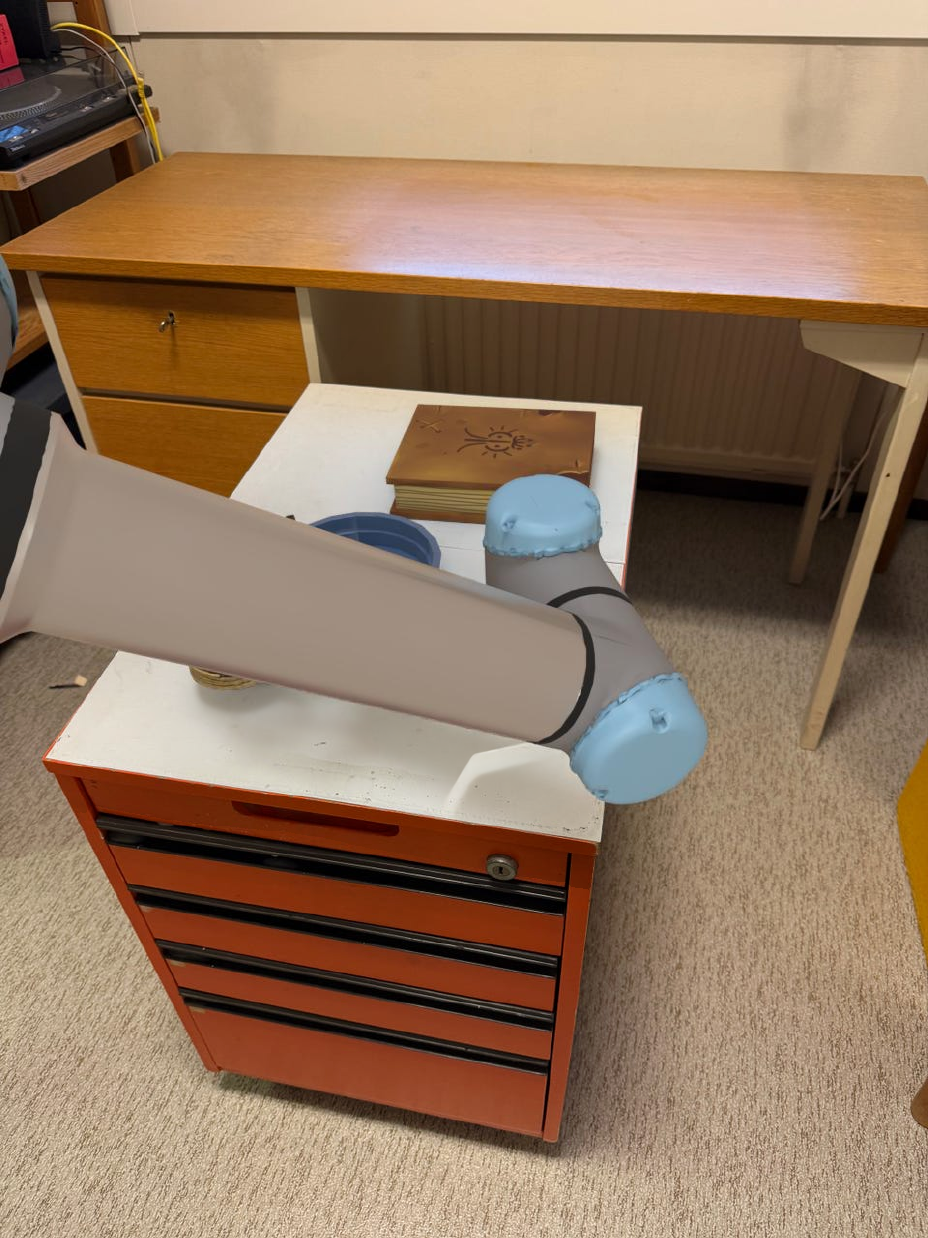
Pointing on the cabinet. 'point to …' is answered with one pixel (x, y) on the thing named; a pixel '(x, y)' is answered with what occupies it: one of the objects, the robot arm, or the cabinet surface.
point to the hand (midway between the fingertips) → (192, 565)
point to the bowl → (386, 534)
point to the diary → (483, 456)
